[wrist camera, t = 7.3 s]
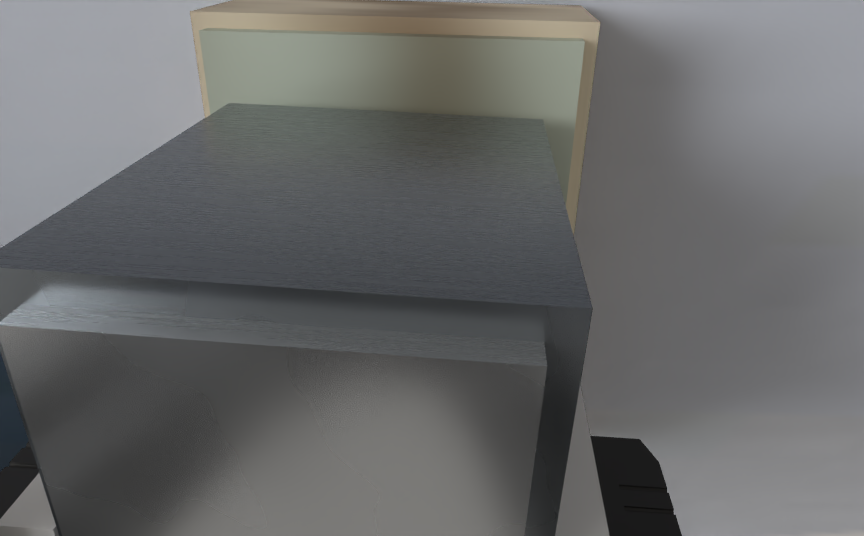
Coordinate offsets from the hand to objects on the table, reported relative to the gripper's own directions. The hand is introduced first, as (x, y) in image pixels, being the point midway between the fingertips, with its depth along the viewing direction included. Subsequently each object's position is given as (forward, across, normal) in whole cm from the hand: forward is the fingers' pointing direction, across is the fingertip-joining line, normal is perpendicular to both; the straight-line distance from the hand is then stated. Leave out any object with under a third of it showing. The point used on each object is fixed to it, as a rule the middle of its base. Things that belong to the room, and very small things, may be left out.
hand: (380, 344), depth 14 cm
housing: (+1, 0, 0) cm, 1 cm away
